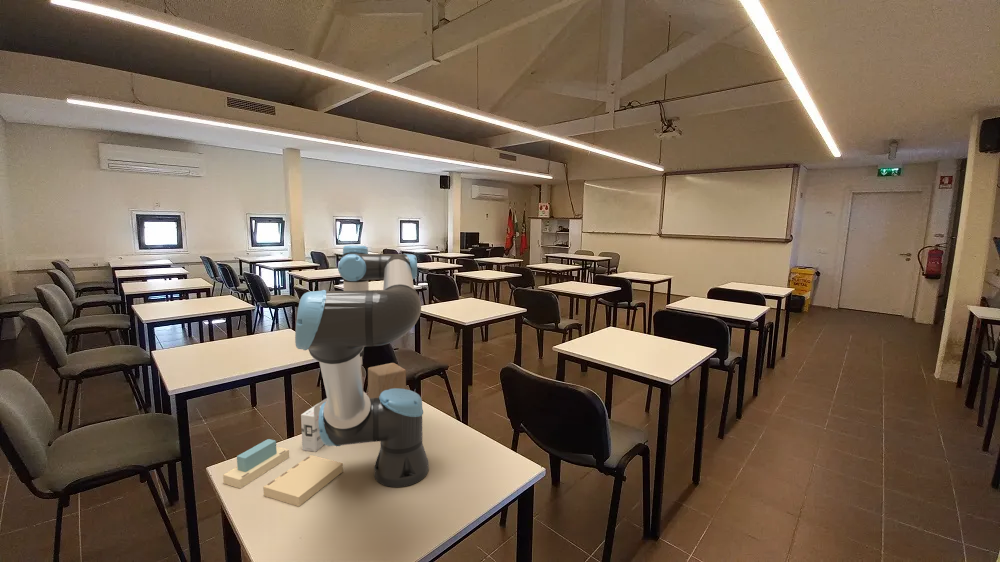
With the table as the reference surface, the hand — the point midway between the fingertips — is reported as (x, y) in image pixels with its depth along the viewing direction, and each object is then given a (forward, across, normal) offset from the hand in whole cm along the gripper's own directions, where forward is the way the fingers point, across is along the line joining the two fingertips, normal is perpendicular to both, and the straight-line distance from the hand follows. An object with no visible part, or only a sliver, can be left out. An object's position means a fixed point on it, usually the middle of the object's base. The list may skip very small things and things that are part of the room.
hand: (357, 365), depth 133 cm
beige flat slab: (+24, -3, +26) cm, 36 cm away
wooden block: (+25, -3, -12) cm, 28 cm away
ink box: (+25, +9, +9) cm, 28 cm away
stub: (+24, +14, +26) cm, 38 cm away
